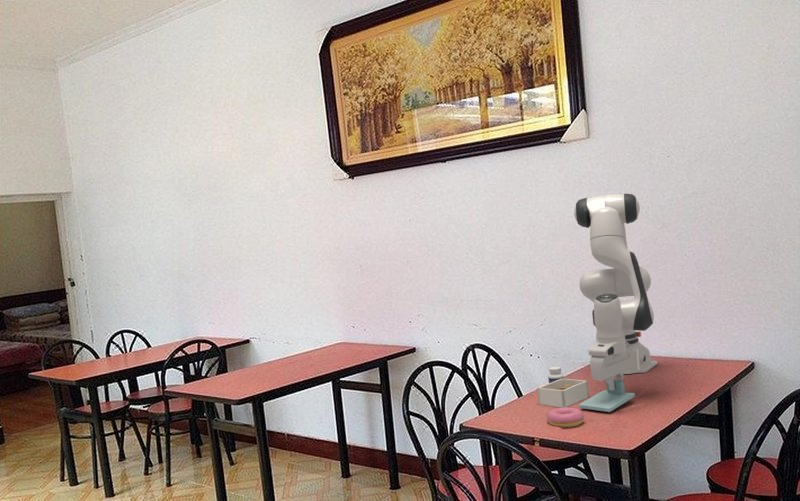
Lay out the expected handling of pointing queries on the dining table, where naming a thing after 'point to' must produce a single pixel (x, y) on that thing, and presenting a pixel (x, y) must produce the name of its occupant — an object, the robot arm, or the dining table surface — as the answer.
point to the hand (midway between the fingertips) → (615, 388)
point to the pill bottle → (555, 374)
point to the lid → (608, 398)
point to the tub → (563, 393)
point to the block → (566, 387)
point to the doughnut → (565, 417)
